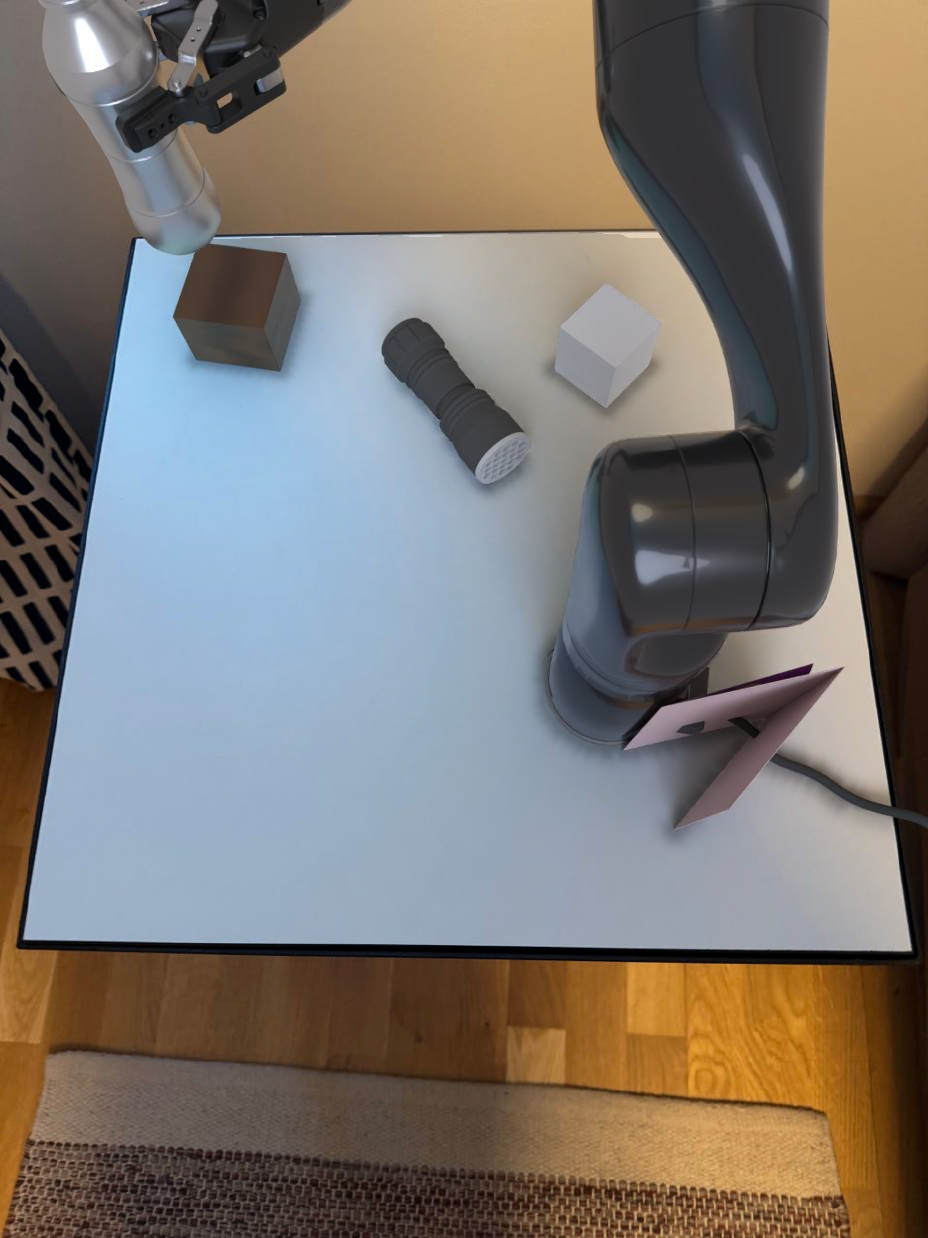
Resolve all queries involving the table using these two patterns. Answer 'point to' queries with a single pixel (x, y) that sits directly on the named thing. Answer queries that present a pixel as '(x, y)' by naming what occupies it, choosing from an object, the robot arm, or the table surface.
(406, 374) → the flashlight
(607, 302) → the white cube
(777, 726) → the greeting card
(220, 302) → the block
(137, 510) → the table surface
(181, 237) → the silver metal bottle
